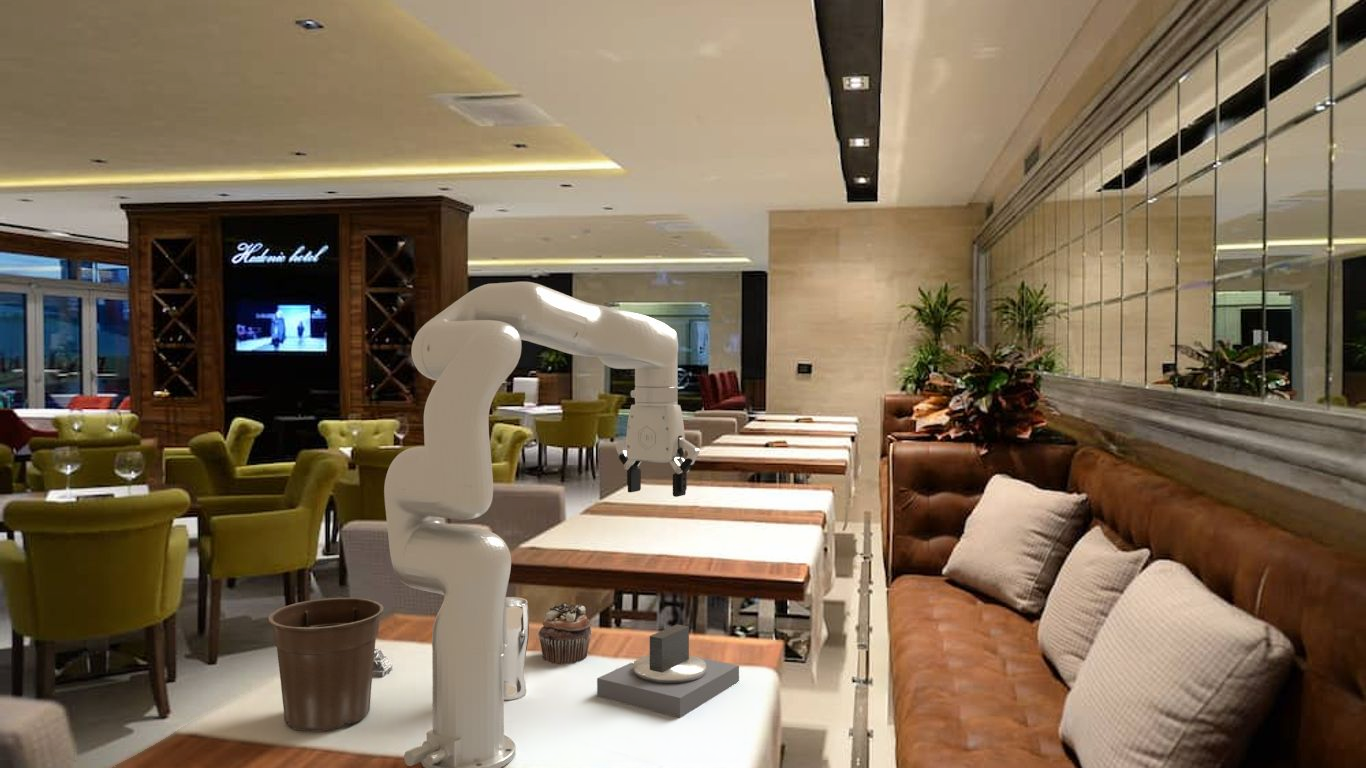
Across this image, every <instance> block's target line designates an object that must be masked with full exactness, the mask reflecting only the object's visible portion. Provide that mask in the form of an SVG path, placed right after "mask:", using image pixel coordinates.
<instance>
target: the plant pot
mask: <svg viewBox="0 0 1366 768" xmlns="http://www.w3.org/2000/svg"><path fill="white" fill-rule="evenodd" d="M383 613H384V606H383V604H382V603H380V602H378V601H374V600H372V599H371V600H370V599H367V598H357V597H335V598H320V599H314V600H305V601H301V602H296V603H293V604H289V605H285V606H282V607H280V608H278V609H276V610H275V611H273V612H272V613H270V615H269V616H268V623H269V624H270V625H271V626H272V627H271V628H272V634H273V635H272V636H273V644H274V646H275V647H276V651H277V663H278V670H279V678H280V687H281V688H280V689H281V698H282V705H283V720H284V722H285V725H290V726H291V728H292V729H295V730H300V731H301V730H302V731H306V732H320V731H327V730H335V729H339V728H341V727H342V726H343V725H344V724H348V723H350V724H352V725H353V724H355V723H358V722H359V721H360V720H362V719H363V718H365V717H367V715H368V714H369V712H370V710H371V695H372V694H371V693H372V683H373V676H372V673H373V662H374V653H375V652H376V651H375V649H376V641H377V640H376V639H377V637H378V635H379V629H380V628H379V627H380V619H381V615H382V614H383Z"/></svg>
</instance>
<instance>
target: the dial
mask: <svg viewBox="0 0 1366 768" xmlns="http://www.w3.org/2000/svg"><path fill="white" fill-rule="evenodd" d="M649 654H650V655H649ZM649 654H647V655H648V656H647V655H644V656H641V657H639V658H637V659H636V660H634V661H635V662H634V661H633V662H634V663H633V673H634V674H635V675H636V676H637V677H639V678H641V679H643V680H647V681H651V682H658V683H681V682H687V681H692V680H695V679H698V678H700V677H702V676H703V675H704V674H705V673H706V663H705V661H704V660H702V659H700V658H701V657H700V658H698V657H699V656H696V655H692V654H690V626H687V625H682V624H675V625H672V626H670V627H668V628H665V629H662V630H660V631H658V632H655V633H653V634H651V635H649Z"/></svg>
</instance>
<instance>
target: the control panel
mask: <svg viewBox="0 0 1366 768" xmlns="http://www.w3.org/2000/svg"><path fill="white" fill-rule="evenodd" d="M648 655H650V653H649V654H647V655H646V656H648ZM697 657H698V658H700V659H702V660H704V661H705V663H706V673H705V674H704V675H703V676H702V677H700V678H698V679H695V680H692V681H687V682H681V683H658V682H651V681H647V680H643V679H641V678H639V677H637V676H636V675H635V674H634V673H633V663H634V662H635V661H636V660H634V661H632V662H630V663H628V664H626V665H623V666H621V667H618V668H617V669H615V670H612V671H610V672H608V673H605V674H603V675H601V676H599V677H597V678H596V683H597V684H596V686H597V688H596V690H597V691H596V694H597V695H596V696H597V697H598V698H601V699H606V700H609V701H614V702H618V703H620V704H625V705H629V706H633V707H637V708H642V709H645V710H649V711H653V712H656V713H661V714H664V715H669V716H672V717H676V718H683V716H685V715H688V714H689V713H690V712H692V711H694V710H695V709H697V708H699V707H700V706H702V705H703V704H705V703H707V702H708V701H710V700H712V699H714V698H715V697H717V696H719V695H720V694H722V693H723V692H724V691H727V690H729V687H730V688H732V687H733V686H734V684H735V685H736V684H738V683H739V682H740V665H738V664H733V663H728V662H726V661H725V662H724V661H718V660H715V659H709V658H705V657H704V658H703V657H700V656H697ZM738 681H739V682H738ZM737 682H738V683H737ZM732 685H733V686H732Z"/></svg>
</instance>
